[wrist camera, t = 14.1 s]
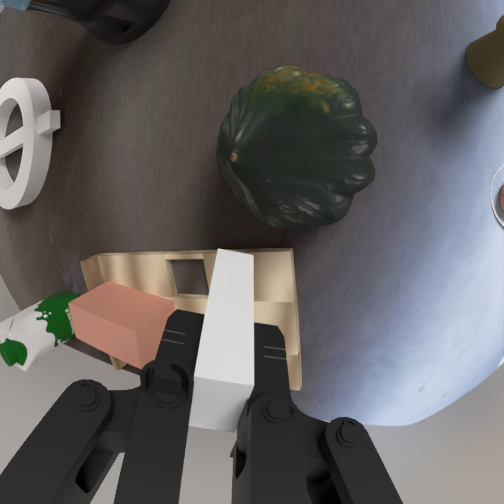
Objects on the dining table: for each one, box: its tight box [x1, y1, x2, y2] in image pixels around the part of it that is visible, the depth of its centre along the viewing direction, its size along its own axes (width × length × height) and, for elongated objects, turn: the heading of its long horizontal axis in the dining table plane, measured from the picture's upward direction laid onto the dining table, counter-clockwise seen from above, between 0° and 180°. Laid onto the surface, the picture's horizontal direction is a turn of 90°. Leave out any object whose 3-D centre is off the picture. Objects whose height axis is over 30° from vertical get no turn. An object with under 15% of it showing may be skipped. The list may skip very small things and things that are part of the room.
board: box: [80, 248, 302, 390], centre depth 42 cm, size 32×20×4 cm, turn 97°
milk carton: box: [0, 292, 80, 372], centre depth 45 cm, size 9×9×20 cm
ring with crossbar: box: [0, 78, 60, 209], centre depth 46 cm, size 28×28×5 cm
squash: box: [216, 66, 377, 228], centre depth 26 cm, size 14×15×15 cm
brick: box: [68, 281, 175, 369], centre depth 41 cm, size 13×6×9 cm, turn 86°
